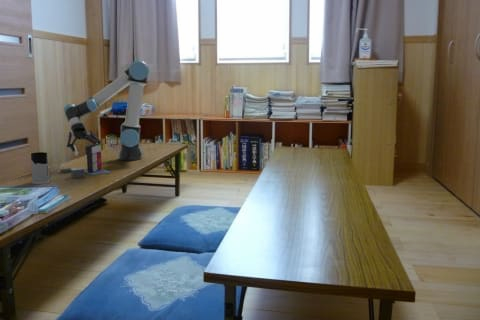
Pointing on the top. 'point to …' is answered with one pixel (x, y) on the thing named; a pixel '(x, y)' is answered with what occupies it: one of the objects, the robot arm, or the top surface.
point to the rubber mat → (97, 172)
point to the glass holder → (40, 168)
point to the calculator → (93, 158)
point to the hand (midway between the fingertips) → (88, 154)
